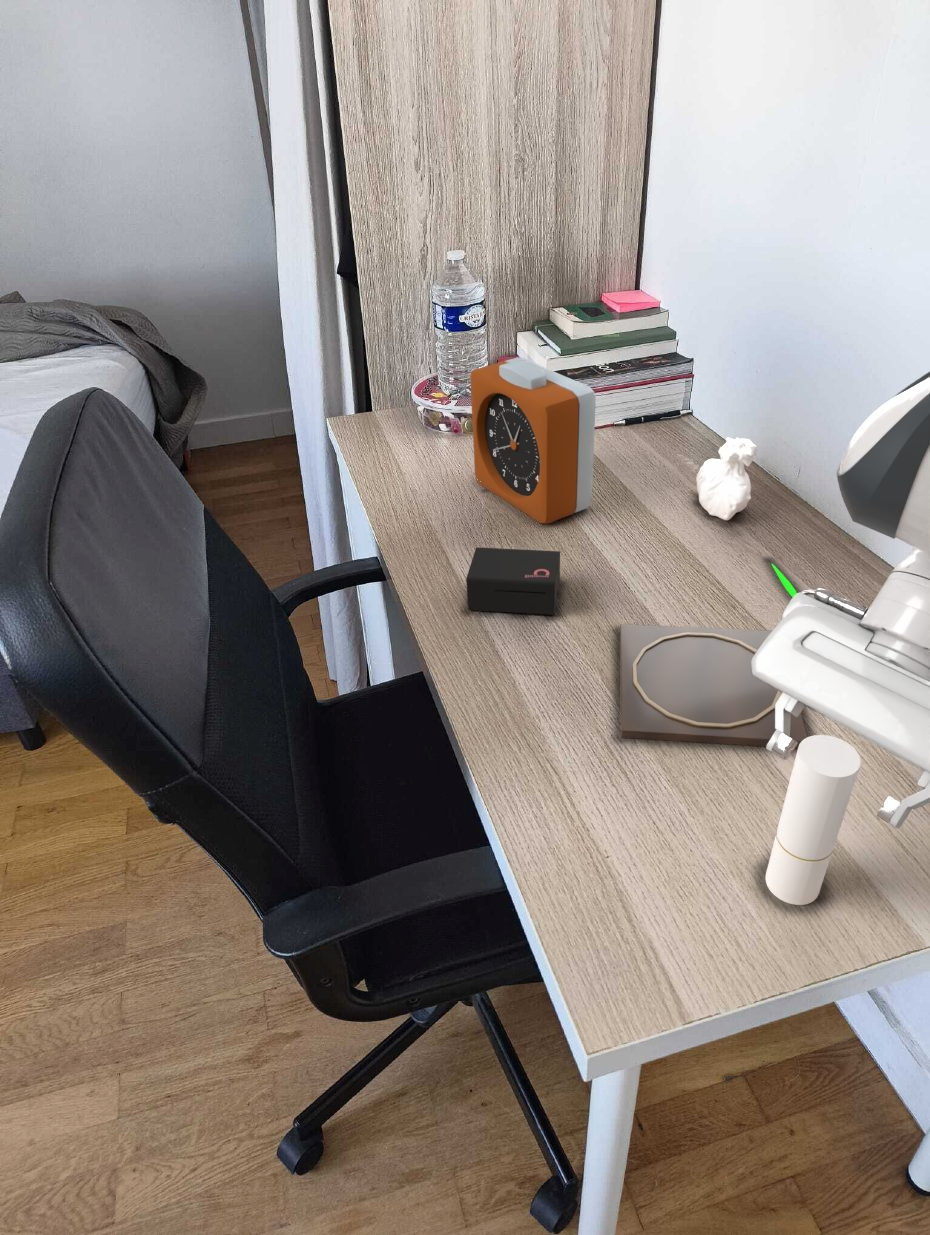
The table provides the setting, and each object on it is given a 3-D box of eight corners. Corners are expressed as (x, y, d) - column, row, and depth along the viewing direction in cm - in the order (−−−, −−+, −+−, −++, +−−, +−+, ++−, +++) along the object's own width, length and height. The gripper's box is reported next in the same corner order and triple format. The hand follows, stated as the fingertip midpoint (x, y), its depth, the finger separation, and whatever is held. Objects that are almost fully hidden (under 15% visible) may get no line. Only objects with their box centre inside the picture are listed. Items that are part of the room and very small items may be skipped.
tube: (826, 904, 68) (869, 776, 60) (773, 905, 69) (808, 777, 60) (810, 861, 72) (848, 734, 63) (759, 862, 72) (790, 735, 63)
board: (778, 637, 97) (780, 629, 96) (807, 749, 82) (809, 740, 82) (619, 630, 99) (620, 622, 99) (620, 737, 85) (621, 729, 84)
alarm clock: (473, 482, 132) (466, 352, 120) (518, 466, 136) (516, 339, 123) (545, 529, 119) (546, 389, 107) (593, 510, 123) (599, 372, 111)
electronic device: (478, 578, 110) (476, 546, 107) (559, 583, 108) (560, 550, 105) (468, 612, 104) (465, 578, 101) (554, 617, 102) (554, 583, 99)
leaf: (772, 562, 110) (773, 557, 110) (817, 625, 99) (818, 619, 98) (765, 563, 110) (766, 557, 110) (810, 626, 99) (811, 620, 98)
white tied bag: (740, 540, 118) (797, 476, 114) (703, 516, 115) (761, 450, 110) (704, 500, 128) (756, 440, 123) (670, 478, 124) (721, 415, 120)
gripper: (793, 567, 68) (704, 712, 69) (1069, 688, 55) (955, 864, 56) (813, 591, 73) (729, 725, 74) (1072, 707, 60) (966, 869, 61)
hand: (828, 787), depth 65 cm, fingers open, 8 cm apart
